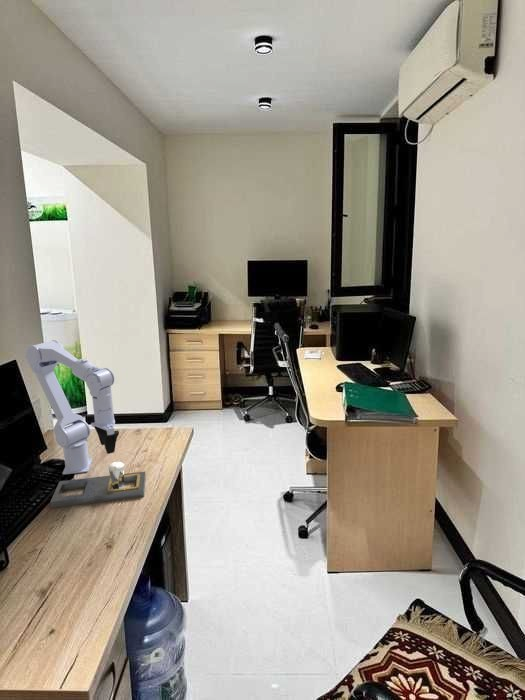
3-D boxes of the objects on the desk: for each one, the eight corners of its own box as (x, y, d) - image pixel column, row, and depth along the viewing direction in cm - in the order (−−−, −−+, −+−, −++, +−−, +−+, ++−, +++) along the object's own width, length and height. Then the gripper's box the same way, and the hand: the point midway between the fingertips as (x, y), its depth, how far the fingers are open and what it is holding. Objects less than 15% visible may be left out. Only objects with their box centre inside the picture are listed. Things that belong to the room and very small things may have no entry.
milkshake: (127, 493, 139) (124, 463, 137) (109, 494, 139) (106, 464, 137) (130, 486, 144) (127, 456, 141) (113, 487, 143) (109, 457, 141)
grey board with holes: (60, 487, 144) (59, 480, 144) (145, 477, 149) (145, 470, 149) (51, 508, 133) (50, 500, 132) (144, 496, 138) (143, 489, 137)
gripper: (85, 404, 147) (89, 443, 151) (95, 417, 135) (100, 460, 139) (107, 399, 151) (111, 438, 154) (119, 412, 139) (123, 454, 142)
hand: (107, 448), depth 147 cm, fingers open, 7 cm apart
